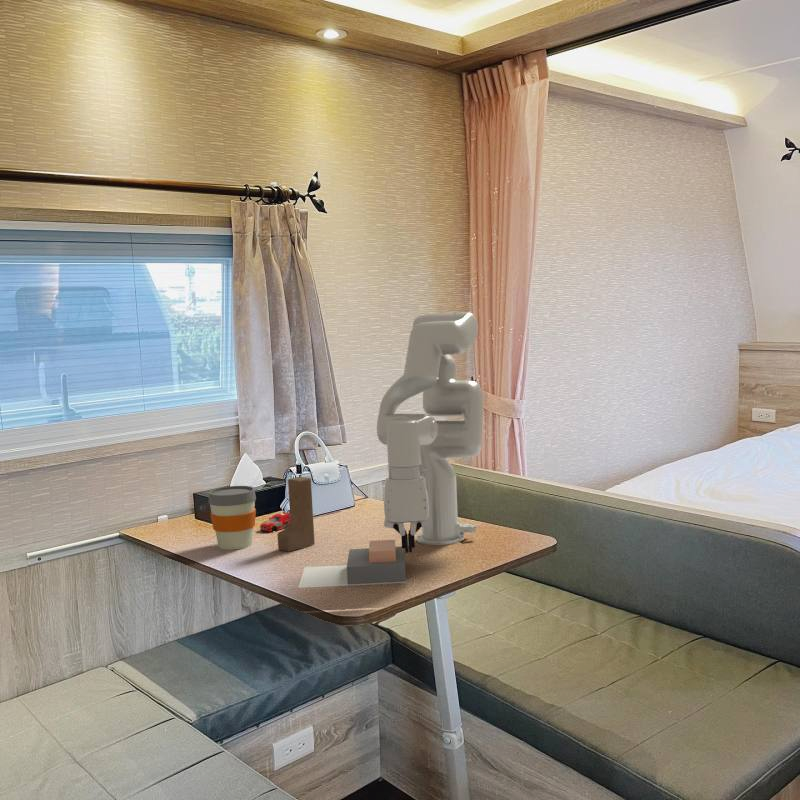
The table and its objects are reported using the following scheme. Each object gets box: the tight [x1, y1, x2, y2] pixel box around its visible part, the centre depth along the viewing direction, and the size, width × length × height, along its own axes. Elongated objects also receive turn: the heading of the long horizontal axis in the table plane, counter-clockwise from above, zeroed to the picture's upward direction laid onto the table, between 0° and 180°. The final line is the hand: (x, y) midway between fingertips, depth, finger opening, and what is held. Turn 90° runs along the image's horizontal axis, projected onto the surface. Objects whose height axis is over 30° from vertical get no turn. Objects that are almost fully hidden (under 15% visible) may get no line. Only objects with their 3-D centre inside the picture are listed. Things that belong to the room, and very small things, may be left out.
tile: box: [368, 539, 396, 563], centre depth 189 cm, size 6×9×2 cm, turn 1°
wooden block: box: [277, 476, 315, 553], centre depth 215 cm, size 9×4×18 cm, turn 136°
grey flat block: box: [346, 546, 407, 586], centre depth 189 cm, size 13×14×4 cm
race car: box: [259, 512, 290, 533], centre depth 238 cm, size 13×5×4 cm, turn 138°
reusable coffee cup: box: [208, 485, 257, 551], centre depth 220 cm, size 13×13×15 cm
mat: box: [297, 564, 407, 589], centre depth 190 cm, size 24×15×1 cm, turn 91°
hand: (408, 550), depth 189 cm, fingers closed
